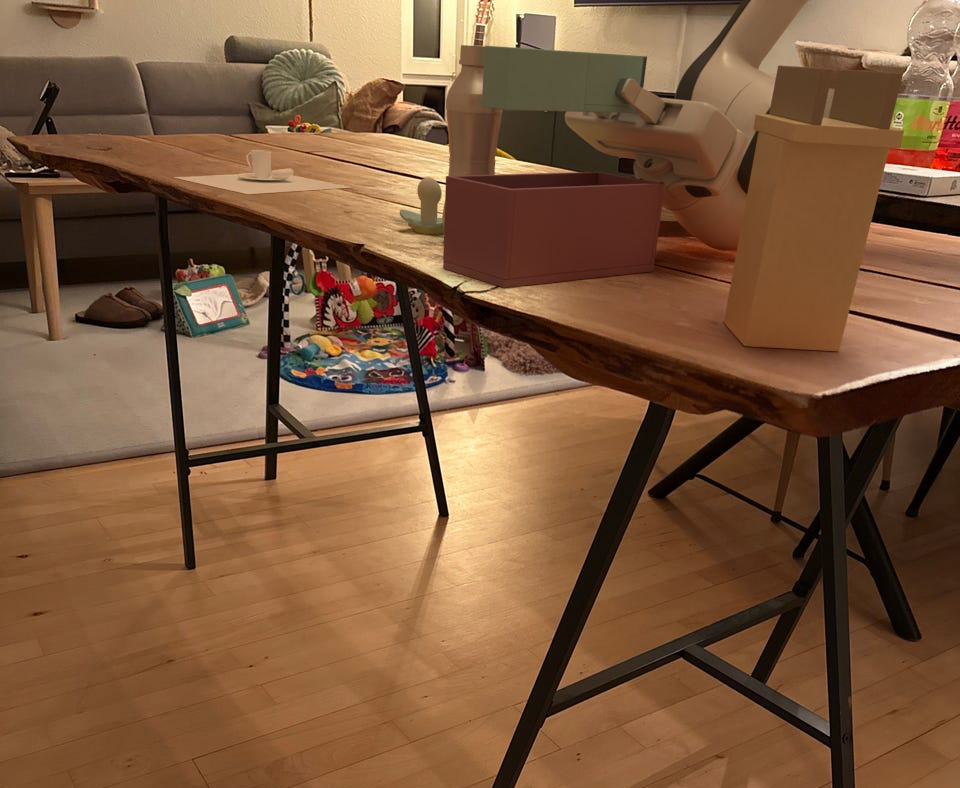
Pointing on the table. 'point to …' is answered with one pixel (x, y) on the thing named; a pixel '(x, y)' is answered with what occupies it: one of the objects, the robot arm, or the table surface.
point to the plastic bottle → (471, 120)
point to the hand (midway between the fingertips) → (605, 83)
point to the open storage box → (550, 226)
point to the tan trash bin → (810, 206)
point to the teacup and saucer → (262, 178)
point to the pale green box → (557, 79)
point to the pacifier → (426, 209)
